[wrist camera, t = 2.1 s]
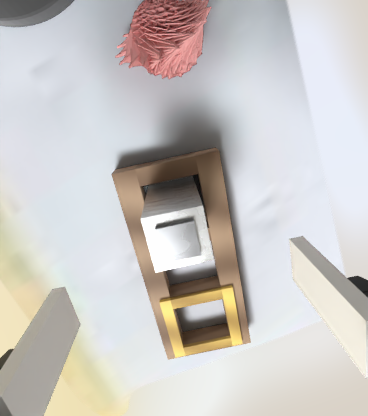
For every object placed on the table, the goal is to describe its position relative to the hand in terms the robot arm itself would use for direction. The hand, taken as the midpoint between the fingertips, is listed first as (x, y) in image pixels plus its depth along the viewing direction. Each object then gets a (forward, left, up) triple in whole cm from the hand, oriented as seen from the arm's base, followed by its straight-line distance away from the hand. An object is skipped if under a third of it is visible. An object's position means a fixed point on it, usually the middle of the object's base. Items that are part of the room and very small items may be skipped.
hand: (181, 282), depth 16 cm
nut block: (0, 0, -14) cm, 14 cm away
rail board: (+7, 0, -14) cm, 15 cm away
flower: (-14, +2, -14) cm, 20 cm away
